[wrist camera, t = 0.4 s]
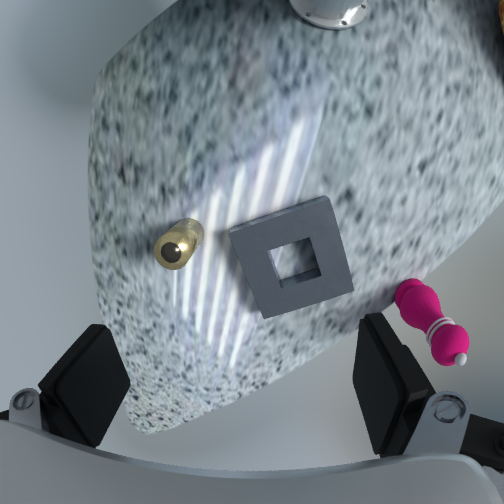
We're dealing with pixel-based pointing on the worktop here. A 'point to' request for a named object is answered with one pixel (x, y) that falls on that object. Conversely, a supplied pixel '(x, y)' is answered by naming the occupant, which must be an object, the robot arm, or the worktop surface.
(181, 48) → the worktop surface
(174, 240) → the cylinder
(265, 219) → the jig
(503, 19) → the jug
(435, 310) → the pepper mill
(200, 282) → the worktop surface
